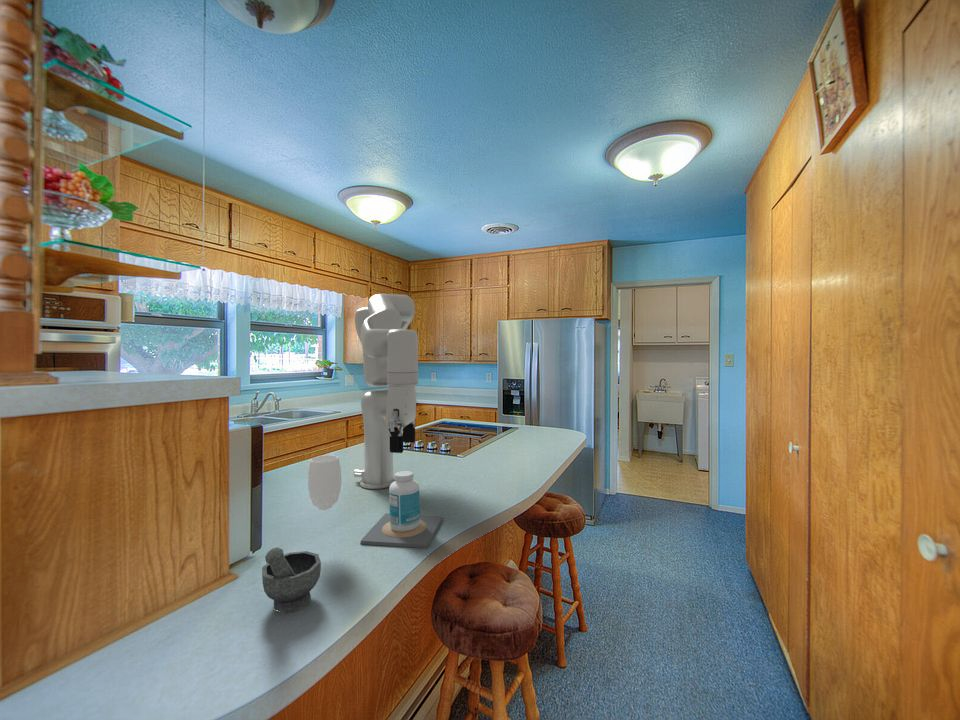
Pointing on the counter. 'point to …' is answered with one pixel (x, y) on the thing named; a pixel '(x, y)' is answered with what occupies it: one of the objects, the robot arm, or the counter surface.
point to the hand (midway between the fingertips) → (403, 447)
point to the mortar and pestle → (290, 578)
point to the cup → (324, 481)
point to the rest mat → (403, 533)
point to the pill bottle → (404, 502)
